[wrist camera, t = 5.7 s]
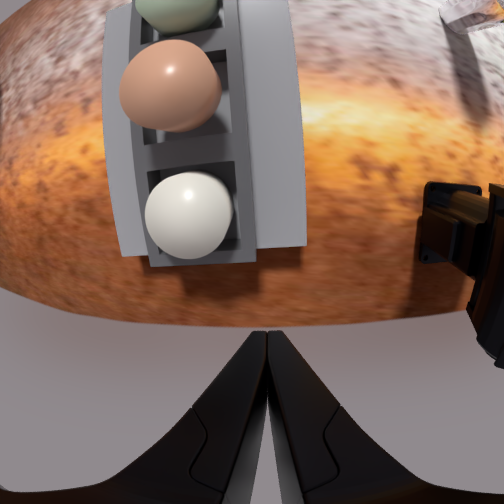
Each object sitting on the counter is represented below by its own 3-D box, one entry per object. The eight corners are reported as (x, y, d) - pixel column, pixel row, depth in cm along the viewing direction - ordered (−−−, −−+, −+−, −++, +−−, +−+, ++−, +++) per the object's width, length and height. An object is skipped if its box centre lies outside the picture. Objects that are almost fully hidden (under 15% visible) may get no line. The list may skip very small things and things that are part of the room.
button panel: (281, -5, 12) (286, -39, 8) (300, 233, 18) (312, 258, 14) (121, 23, 13) (93, 2, 9) (136, 244, 19) (108, 268, 15)
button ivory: (230, 166, 14) (224, 169, 11) (237, 238, 15) (232, 256, 13) (159, 174, 14) (139, 180, 11) (169, 243, 15) (152, 261, 13)
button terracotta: (219, 52, 10) (210, 31, 8) (224, 126, 12) (215, 120, 9) (143, 68, 11) (119, 53, 8) (146, 138, 12) (121, 137, 9)
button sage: (218, -17, 9) (211, -40, 7) (221, 31, 11) (213, 10, 8) (154, -3, 10) (138, -22, 7) (152, 45, 11) (133, 29, 9)
